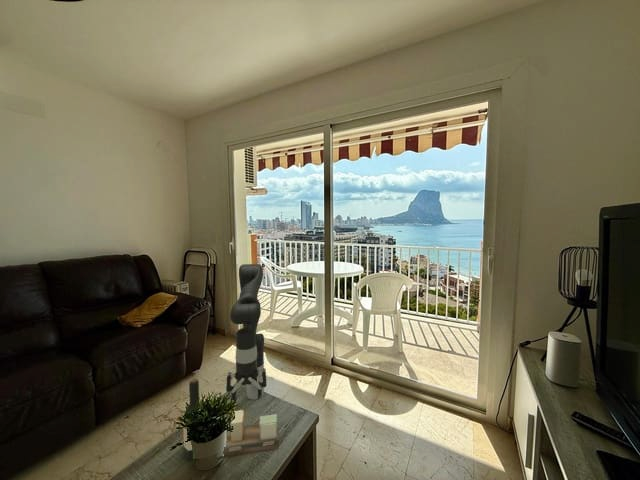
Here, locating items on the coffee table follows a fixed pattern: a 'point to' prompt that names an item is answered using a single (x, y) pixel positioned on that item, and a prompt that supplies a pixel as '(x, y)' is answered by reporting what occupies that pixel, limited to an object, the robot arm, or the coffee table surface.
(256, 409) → the coffee table surface
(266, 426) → the sage box
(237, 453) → the shelf board
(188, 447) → the wine bottle
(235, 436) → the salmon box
